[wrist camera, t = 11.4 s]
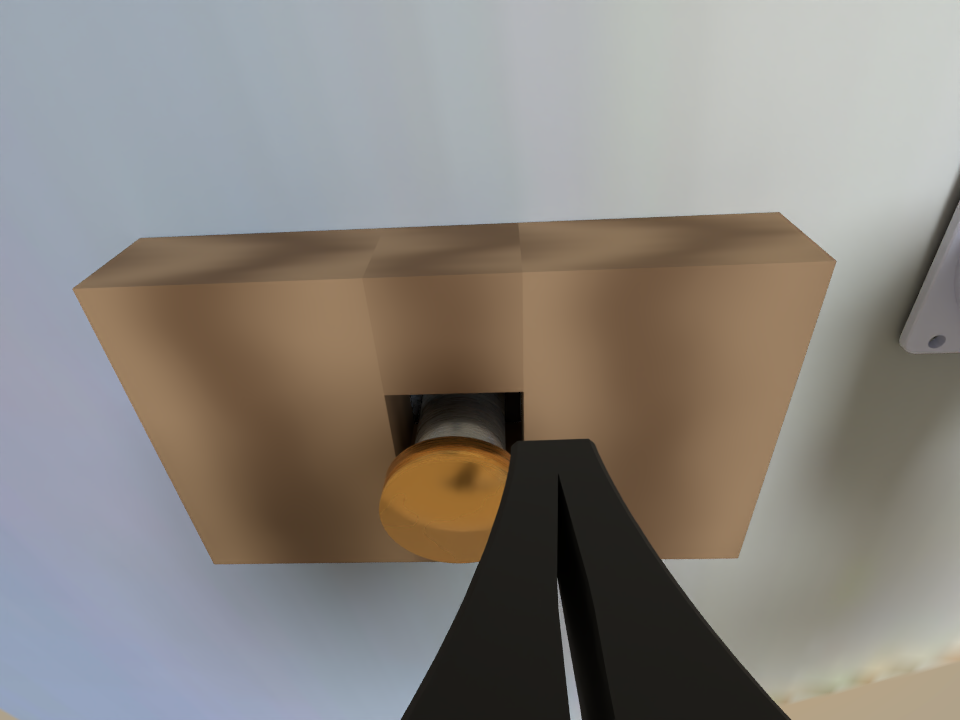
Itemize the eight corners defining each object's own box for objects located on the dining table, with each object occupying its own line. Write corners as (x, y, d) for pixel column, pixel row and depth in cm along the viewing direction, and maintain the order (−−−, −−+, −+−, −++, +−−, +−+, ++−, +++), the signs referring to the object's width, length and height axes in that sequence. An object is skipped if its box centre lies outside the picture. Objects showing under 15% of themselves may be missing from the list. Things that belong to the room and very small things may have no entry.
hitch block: (779, 212, 17) (836, 261, 14) (708, 487, 24) (737, 558, 21) (139, 238, 18) (72, 288, 15) (246, 495, 25) (214, 564, 22)
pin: (536, 353, 20) (549, 477, 15) (507, 441, 23) (510, 572, 18) (415, 329, 20) (388, 448, 15) (398, 422, 22) (370, 550, 17)
